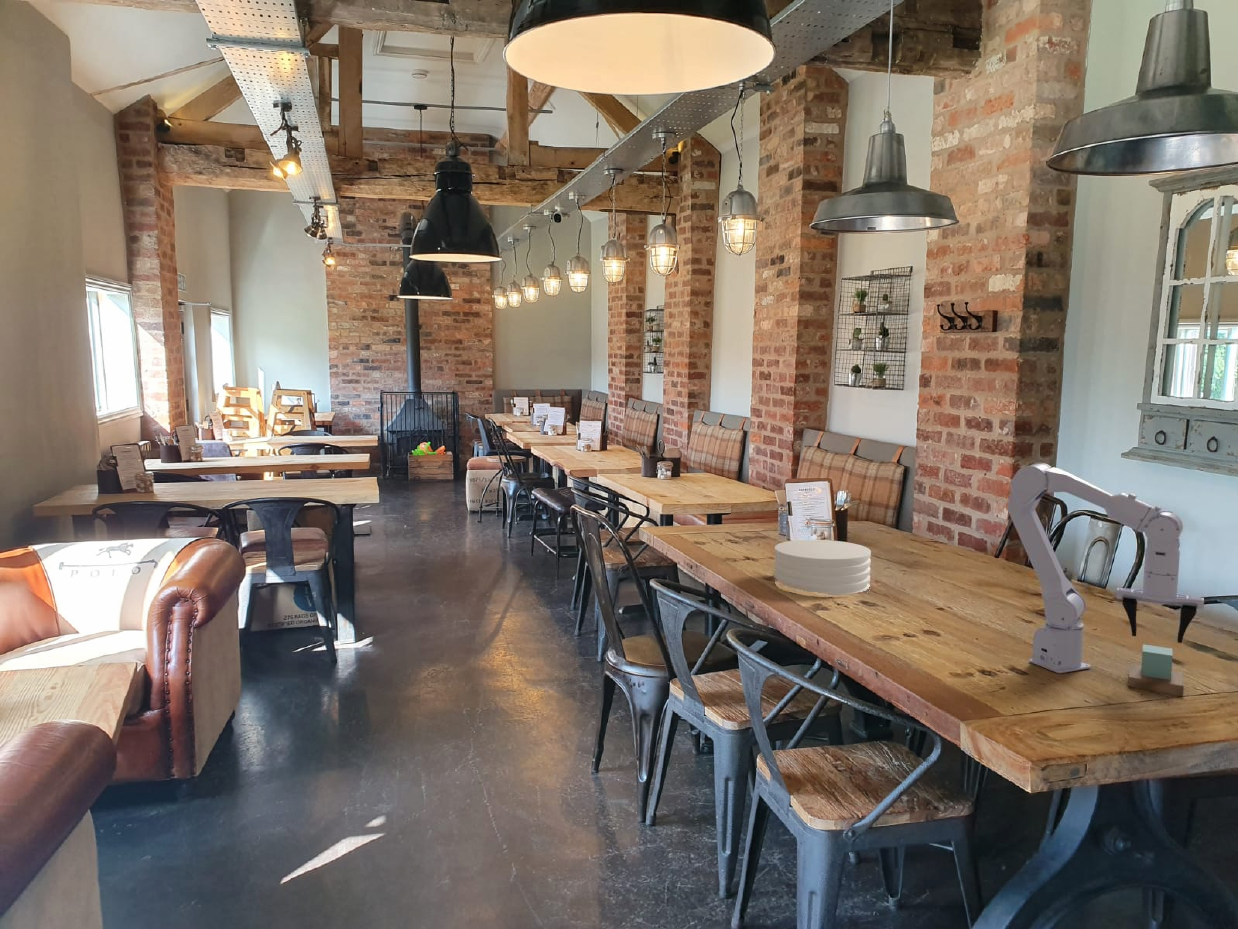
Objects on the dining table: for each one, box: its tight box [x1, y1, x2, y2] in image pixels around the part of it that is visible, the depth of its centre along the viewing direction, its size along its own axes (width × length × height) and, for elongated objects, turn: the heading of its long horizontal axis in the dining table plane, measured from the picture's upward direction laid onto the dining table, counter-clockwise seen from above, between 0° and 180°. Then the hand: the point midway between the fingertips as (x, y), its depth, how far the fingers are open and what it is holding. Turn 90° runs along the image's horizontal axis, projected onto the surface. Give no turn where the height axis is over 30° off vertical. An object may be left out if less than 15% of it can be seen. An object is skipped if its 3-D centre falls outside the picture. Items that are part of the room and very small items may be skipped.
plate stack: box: [773, 539, 872, 595], centre depth 243 cm, size 28×28×12 cm
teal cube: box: [1141, 644, 1174, 680], centre depth 164 cm, size 5×5×5 cm
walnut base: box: [1128, 663, 1185, 697], centre depth 164 cm, size 9×9×2 cm
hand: (1156, 638), depth 164 cm, fingers open, 7 cm apart
